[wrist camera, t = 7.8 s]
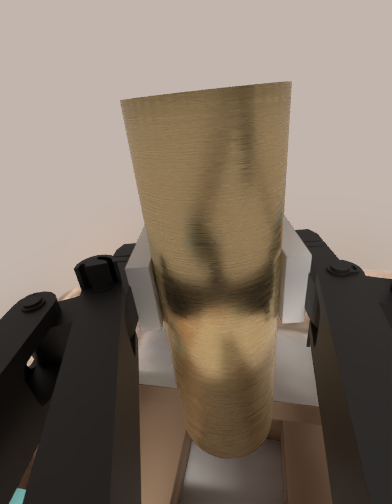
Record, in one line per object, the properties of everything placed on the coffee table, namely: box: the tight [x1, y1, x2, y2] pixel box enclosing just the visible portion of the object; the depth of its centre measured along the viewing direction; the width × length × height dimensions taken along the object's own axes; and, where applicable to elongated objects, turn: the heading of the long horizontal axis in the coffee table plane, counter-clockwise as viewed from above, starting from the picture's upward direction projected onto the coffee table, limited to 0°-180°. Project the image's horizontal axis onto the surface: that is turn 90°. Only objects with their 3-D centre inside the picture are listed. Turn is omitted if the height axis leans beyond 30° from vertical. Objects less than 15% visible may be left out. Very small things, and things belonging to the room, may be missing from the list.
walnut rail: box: [9, 384, 333, 504], centre depth 19 cm, size 26×9×3 cm, turn 79°
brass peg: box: [120, 81, 292, 459], centre depth 11 cm, size 4×4×14 cm
